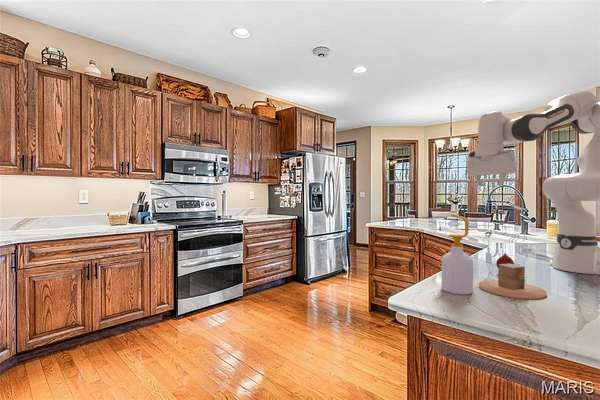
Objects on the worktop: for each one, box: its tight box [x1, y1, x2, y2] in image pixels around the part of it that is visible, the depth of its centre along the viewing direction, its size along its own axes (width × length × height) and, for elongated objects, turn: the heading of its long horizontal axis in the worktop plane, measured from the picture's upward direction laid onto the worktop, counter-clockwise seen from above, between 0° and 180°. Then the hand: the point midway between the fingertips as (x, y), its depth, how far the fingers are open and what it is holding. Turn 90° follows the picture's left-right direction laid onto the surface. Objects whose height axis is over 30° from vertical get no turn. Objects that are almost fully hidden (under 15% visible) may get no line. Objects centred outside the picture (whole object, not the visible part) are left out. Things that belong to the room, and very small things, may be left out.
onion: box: [495, 252, 515, 268], centre depth 123 cm, size 6×6×8 cm
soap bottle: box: [441, 213, 474, 296], centre depth 101 cm, size 9×9×25 cm
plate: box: [478, 279, 548, 300], centre depth 102 cm, size 18×18×1 cm
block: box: [497, 263, 526, 290], centre depth 102 cm, size 5×5×7 cm
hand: (489, 186), depth 130 cm, fingers open, 8 cm apart
